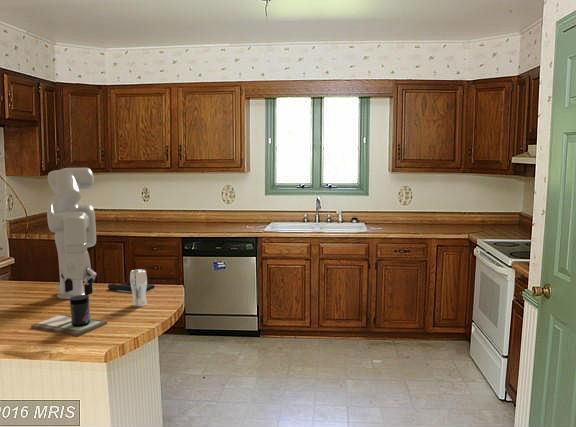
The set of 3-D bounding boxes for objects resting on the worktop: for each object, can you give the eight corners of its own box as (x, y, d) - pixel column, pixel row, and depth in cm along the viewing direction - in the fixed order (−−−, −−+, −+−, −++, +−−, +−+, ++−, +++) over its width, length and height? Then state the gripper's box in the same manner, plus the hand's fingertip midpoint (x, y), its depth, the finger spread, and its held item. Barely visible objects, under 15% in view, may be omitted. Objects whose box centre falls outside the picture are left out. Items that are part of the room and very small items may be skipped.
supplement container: (81, 328, 180) (79, 300, 179) (67, 326, 182) (65, 299, 181) (94, 322, 186) (92, 295, 185) (81, 320, 189) (79, 294, 187)
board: (31, 327, 185) (30, 324, 185) (61, 316, 198) (60, 313, 197) (79, 336, 176) (78, 332, 175) (107, 323, 188) (106, 320, 188)
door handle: (128, 278, 249) (105, 284, 235) (160, 281, 242) (139, 288, 227) (128, 284, 250) (105, 291, 235) (160, 288, 242) (139, 295, 227)
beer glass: (149, 301, 215) (148, 268, 214) (145, 306, 209) (144, 272, 207) (134, 302, 215) (132, 269, 213) (129, 307, 208) (127, 273, 206)
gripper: (50, 248, 180) (53, 292, 183) (86, 252, 174) (89, 298, 176) (66, 244, 187) (69, 287, 190) (101, 248, 181) (104, 292, 183)
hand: (78, 292), depth 183 cm, fingers open, 9 cm apart
